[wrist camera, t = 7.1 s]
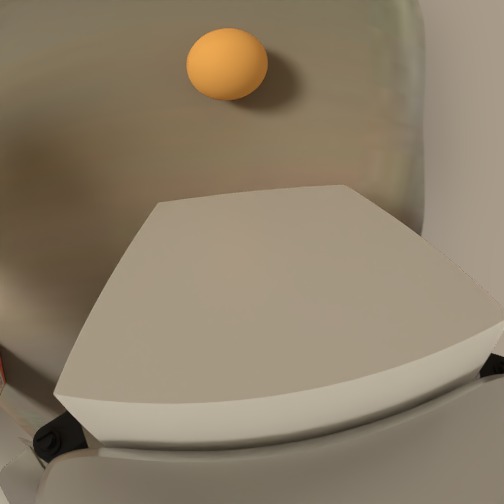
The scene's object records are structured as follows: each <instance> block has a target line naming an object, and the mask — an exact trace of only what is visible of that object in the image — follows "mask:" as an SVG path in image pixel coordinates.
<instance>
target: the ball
mask: <svg viewBox="0 0 504 504" xmlns="http://www.w3.org/2000/svg"><path fill="white" fill-rule="evenodd" d="M267 67H268V59H267V55H266V52H265V49H264V47H263V46H262V44H261V43H260V42H259V41H258V40H257V39H256V38H255V37H254V36H253V35H251V34H249V33H247V32H245V31H242V30H239V29H233V28H224V29H218V30H215V31H212V32H209V33H207V34H206V35H204V36H202V37H201V38H200V39H199V40H198V41H197V42H196V43H195V44H194V45H193V47H192V48H191V50H190V52H189V55H188V58H187V73H188V76H189V79H190V81H191V82H192V84H193V85H194V87H195V88H196V89H197V90H198V91H200V92H201V93H202V94H204V95H206V96H208V97H210V98H213V99H218V100H234V99H239V98H242V97H244V96H246V95H248V94H250V93H251V92H253V91H254V90H255V89H256V88H257V87H258V86H259V85H260V84H261V83H262V81H263V79H264V77H265V75H266V72H267Z"/></svg>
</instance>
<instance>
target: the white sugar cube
mask: <svg viewBox="0 0 504 504" xmlns="http://www.w3.org/2000/svg"><path fill="white" fill-rule="evenodd" d="M503 331H504V309H503V308H502V307H501V306H500V305H499V304H498V303H497V302H496V301H495V300H494V299H493V298H492V297H491V296H490V295H489V294H488V293H487V292H486V291H485V290H484V289H483V288H482V287H480V285H478V284H477V283H476V282H475V281H474V280H473V279H472V278H471V277H469V276H468V275H467V274H466V273H465V272H464V271H463V270H461V269H460V268H459V267H458V266H457V265H456V264H454V263H453V262H452V261H451V260H450V259H448V258H447V257H446V256H445V255H444V254H442V253H441V252H440V251H439V250H437V249H436V248H435V247H434V246H432V245H431V244H430V243H428V242H427V241H426V240H425V239H423V238H422V237H421V236H419V235H418V234H417V233H415V232H414V231H413V230H411V229H410V228H409V227H407V226H406V225H404V224H403V223H402V222H400V221H399V220H397V219H396V218H395V217H393V216H392V215H390V214H389V213H387V212H386V211H384V210H383V209H382V208H380V207H379V206H377V205H376V204H374V203H373V202H371V201H370V200H368V199H367V198H365V197H363V196H362V195H360V194H359V193H357V192H356V191H354V190H352V189H351V188H349V187H348V186H346V185H327V186H310V187H295V188H282V189H270V190H259V191H248V192H238V193H229V194H220V195H212V196H204V197H196V198H188V199H181V200H174V201H167V202H160V203H158V204H157V205H156V206H155V208H154V209H153V211H152V212H151V214H150V215H149V216H148V218H147V219H146V221H145V222H144V224H143V225H142V227H141V228H140V230H139V231H138V233H137V234H136V236H135V237H134V239H133V240H132V242H131V244H130V245H129V247H128V248H127V250H126V251H125V253H124V255H123V256H122V258H121V260H120V261H119V263H118V264H117V266H116V268H115V269H114V271H113V273H112V274H111V276H110V278H109V280H108V281H107V283H106V285H105V287H104V288H103V290H102V292H101V294H100V295H99V297H98V299H97V301H96V303H95V305H94V306H93V308H92V310H91V312H90V314H89V316H88V318H87V320H86V322H85V324H84V326H83V328H82V330H81V332H80V334H79V336H78V338H77V340H76V342H75V344H74V346H73V348H72V350H71V353H70V355H69V357H68V359H67V362H66V364H65V366H64V368H63V371H62V373H61V375H60V378H59V380H58V383H57V385H56V388H55V390H54V393H53V394H54V396H55V397H56V398H57V399H58V400H59V401H60V402H61V403H62V405H63V406H64V407H65V408H66V409H67V410H68V411H69V412H70V413H71V414H72V415H73V416H74V417H75V418H76V419H77V420H78V421H79V422H80V423H81V424H82V425H83V426H84V427H85V428H86V429H87V430H88V431H89V432H90V433H91V434H92V435H93V436H94V437H95V438H96V439H98V440H99V441H100V442H101V443H102V444H103V445H104V446H106V447H107V448H126V449H142V450H158V451H220V450H236V449H248V448H257V447H266V446H273V445H280V444H286V443H292V442H298V441H303V440H309V439H313V438H318V437H323V436H327V435H331V434H335V433H339V432H343V431H347V430H350V429H354V428H357V427H361V426H364V425H367V424H370V423H374V422H377V421H380V420H383V419H386V418H388V417H391V416H394V415H397V414H399V413H402V412H405V411H407V410H410V409H412V408H415V407H417V406H419V405H422V404H424V403H426V402H429V401H431V400H433V399H436V398H438V397H440V396H442V395H444V394H447V393H449V392H451V391H453V390H455V389H457V388H459V387H461V386H463V385H466V384H468V383H470V382H472V381H473V380H474V378H475V377H476V375H477V374H478V372H479V371H480V369H481V368H482V366H483V365H484V363H485V362H486V360H487V358H488V357H489V355H490V354H491V352H492V350H493V349H494V347H495V345H496V343H497V342H498V340H499V338H500V336H501V335H502V333H503Z"/></svg>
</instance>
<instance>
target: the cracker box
mask: <svg viewBox="0 0 504 504" xmlns="http://www.w3.org/2000/svg"><path fill="white" fill-rule="evenodd" d="M5 384H6V381H5V377H4V372H3V367H2V362H1V357H0V395H1V392H2V390H3V388H4V386H5Z"/></svg>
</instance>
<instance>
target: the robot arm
mask: <svg viewBox="0 0 504 504" xmlns="http://www.w3.org/2000/svg"><path fill="white" fill-rule="evenodd" d="M0 486H1V488H2V490H3V492H4V494H5V496H6V498H7V499H8V501H9V503H10V504H504V357H502V356H499V355H496V354H492V353H491V354H490V355H489V357H488V358H487V360H486V362H485V363H484V365H483V366H482V368H481V369H480V371H479V372H478V374H477V375H476V377H475V378H474V380H473V381H472V382H470V383H468V384H466V385H463V386H461V387H459V388H457V389H455V390H453V391H451V392H449V393H447V394H444V395H442V396H440V397H438V398H436V399H433V400H431V401H429V402H426V403H424V404H422V405H419V406H417V407H415V408H412V409H410V410H407V411H405V412H402V413H399V414H397V415H394V416H391V417H388V418H386V419H383V420H380V421H377V422H374V423H370V424H367V425H364V426H361V427H357V428H354V429H350V430H347V431H343V432H339V433H335V434H331V435H327V436H323V437H318V438H313V439H309V440H303V441H298V442H292V443H286V444H280V445H273V446H266V447H257V448H248V449H236V450H220V451H158V450H142V449H126V448H107V447H106V446H104V445H103V444H102V443H101V442H100V441H99V440H98V439H96V438H95V437H94V436H93V435H92V434H91V433H90V432H89V431H88V430H87V429H86V428H85V427H84V426H83V425H82V424H81V423H80V422H79V421H78V420H77V419H76V418H75V417H74V416H73V415H72V414H71V413H70V412H69V411H66V412H65V413H63V414H62V415H60V416H59V417H57V418H56V419H54V420H52V421H51V422H49V423H48V424H46V425H44V426H43V427H41V428H40V429H39V430H38V431H37V432H36V434H35V436H34V439H33V447H32V448H31V447H30V446H28V447H26V448H25V449H24V450H23V451H22V452H21V453H20V454H18V455H17V456H16V457H15V458H14V459H13V460H12V461H10V462H9V463H8V464H7V465H6V466H5V467H4V468H3V469H2V470H1V471H0Z"/></svg>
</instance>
